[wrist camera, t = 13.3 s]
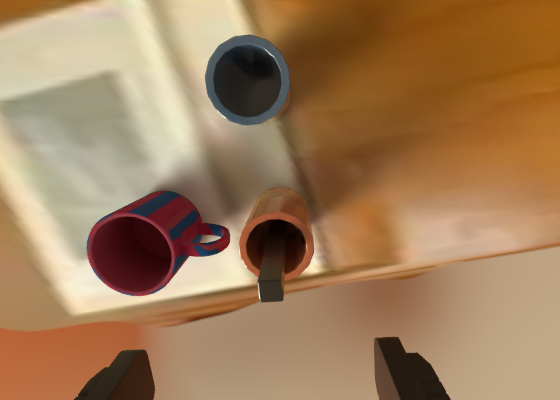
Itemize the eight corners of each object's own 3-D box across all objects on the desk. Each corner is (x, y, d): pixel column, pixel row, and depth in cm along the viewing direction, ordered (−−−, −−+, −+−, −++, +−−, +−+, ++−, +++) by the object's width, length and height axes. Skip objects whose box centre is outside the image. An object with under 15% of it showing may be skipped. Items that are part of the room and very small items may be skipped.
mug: (131, 187, 29) (82, 207, 22) (239, 196, 28) (222, 219, 22) (134, 255, 30) (89, 292, 24) (236, 263, 30) (220, 303, 23)
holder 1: (219, 97, 26) (188, 87, 19) (256, 47, 25) (240, 15, 17) (265, 136, 27) (254, 142, 19) (303, 89, 26) (307, 75, 18)
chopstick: (275, 222, 28) (259, 303, 16) (273, 209, 28) (256, 281, 15) (288, 221, 28) (283, 302, 15) (287, 208, 28) (281, 280, 15)
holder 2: (243, 216, 29) (224, 251, 21) (277, 175, 28) (270, 196, 20) (284, 249, 29) (281, 295, 22) (319, 210, 28) (329, 244, 21)
